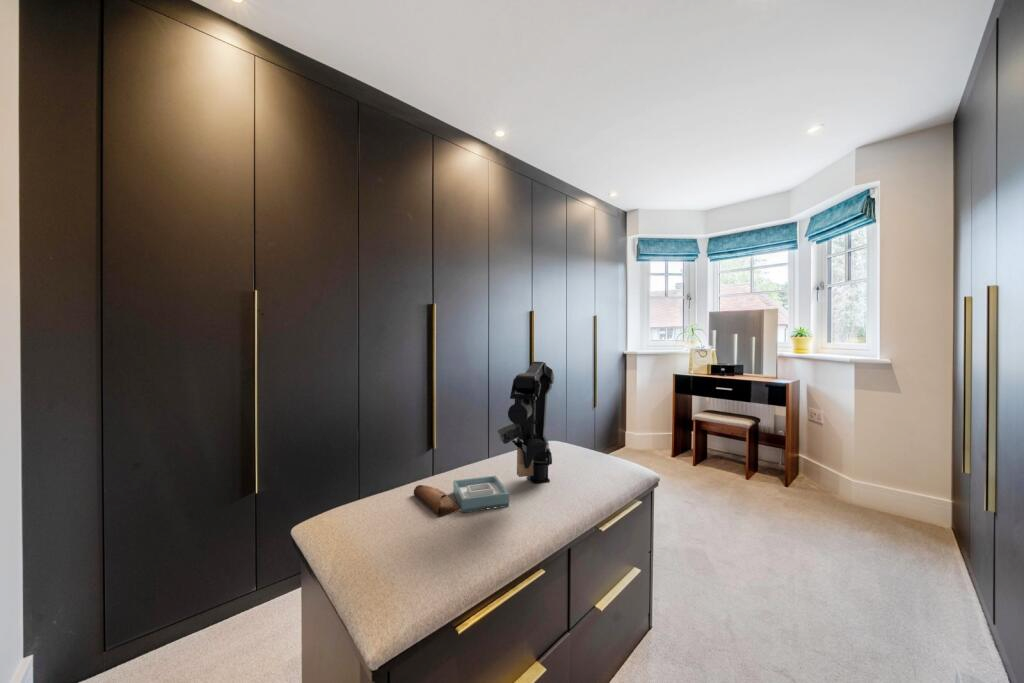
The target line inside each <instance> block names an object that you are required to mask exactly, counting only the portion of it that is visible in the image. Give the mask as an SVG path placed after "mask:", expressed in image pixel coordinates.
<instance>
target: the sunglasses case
mask: <svg viewBox="0 0 1024 683" xmlns="http://www.w3.org/2000/svg"><path fill="white" fill-rule="evenodd" d="M413 495H414V496H415V497H416V498H417V499H419V500H420V501H422V503H423V504H424V505H425V506H427V507H428V508H429V509H430V510H431V511H432V512H433V513H434V514H435V516H438V517H439V518H441V517H443V516H447V515H450V514H452V512H453V513H456V512H458V511H457V510H459V509H460V507H459V505H458V503H457V502H455V501H454V500H453V499H451V497H449V496H448V495H447V493H446V492H445V491H443V490H441V489H439V488H434V487H432V486H428V485H423V484H418V485H416V486H415V487H414V490H413ZM455 511H456V512H455ZM459 511H460V510H459Z"/></svg>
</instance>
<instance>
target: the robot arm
mask: <svg viewBox="0 0 1024 683" xmlns="http://www.w3.org/2000/svg"><path fill="white" fill-rule="evenodd" d="M554 381H555V376H554V371H553V369H552V368H550V367H549V366H548V365H547V363H546V362H544V361H532V362H530V366H529V367H528V368H527V370H526V371H525V372H523V373H518V374H517V375H516V376H515V378H514V379H513V382H512V385H511V391H510V396H509V399H510V400H514V404H512V405H511V406H510V407H509V408H508V411H507V416H508V419H509V421H510V422H511V424H508V425H506V426H503V427H502V428H499V429H498V430H497V434H498V437H499V440H500V442H502V444H503V445H504V444H506V445H507V444H509V443H510V442H511V443H512V444H514V446H516V449H517V448H519V449H520V450H521V451H522V452H523V459H524V466H525V469H527V468H529V466H530V464H531V462H532V460H533V475H532V476H526V477H527V479H528V480H529V481H530V482H532V484H541V483H549V482H550V481H551V480H550V478H549V466H550V465H553V455H552V452H551V449H550V448H549V446H550V443H549V440H548V438H547V437H546V423H547V422H546V421H547V420H546V418H547V401H548V400H547V399H548V394H549V393H550V392H551V390H552V389H553V388H552V387H553V384H554Z"/></svg>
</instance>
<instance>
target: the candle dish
mask: <svg viewBox="0 0 1024 683" xmlns="http://www.w3.org/2000/svg"><path fill="white" fill-rule="evenodd" d="M452 484H453V486H452V487H453V488H452V490H453V491H452V492H453V495H454V498H455V497H456V498H455V501H456V503H457V502H458V503H457V505H458V504H459V505H458V506H459V507H460V509H461V510H460V512H461V513H462V514H464V513H463V512H465V513H471V512H470V511H472V512H476V511H475V510H479V511H482V510H481V509H486V510H488V509H487V508H493V509H495V508H494V507H500V508H502V507H501V506H506V505H509V506H510V492H509V491H508V490H507V488H506V487H505V486H504V484H503V483H502V482H501V481H500V479H499V478H498V477H497V475H490V476H488V475H487V476H479V477H473V478H465V479H463V478H462V479H455V480H453V481H452ZM506 507H507V506H506Z"/></svg>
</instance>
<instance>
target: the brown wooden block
mask: <svg viewBox="0 0 1024 683" xmlns="http://www.w3.org/2000/svg"><path fill="white" fill-rule="evenodd" d="M516 475H517V476H518V477H519V478H523V477H527V476H532V475H533V460H532V462H531V464H530V466H529V468H527V469H525V466H524V459H523V452H522V451H521V450H520V449H519V448H517V447H516Z"/></svg>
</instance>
